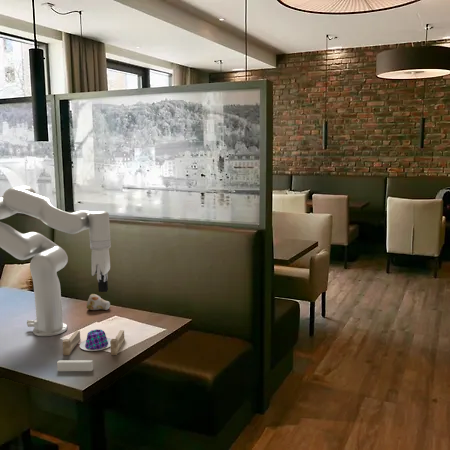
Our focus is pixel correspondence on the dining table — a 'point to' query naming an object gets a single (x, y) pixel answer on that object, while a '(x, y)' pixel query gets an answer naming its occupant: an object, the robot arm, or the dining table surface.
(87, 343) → the pudding
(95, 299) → the white patterned lump
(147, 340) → the dining table surface
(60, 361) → the bar
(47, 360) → the dining table surface
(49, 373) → the dining table surface
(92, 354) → the dining table surface
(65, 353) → the pair of beige bars
